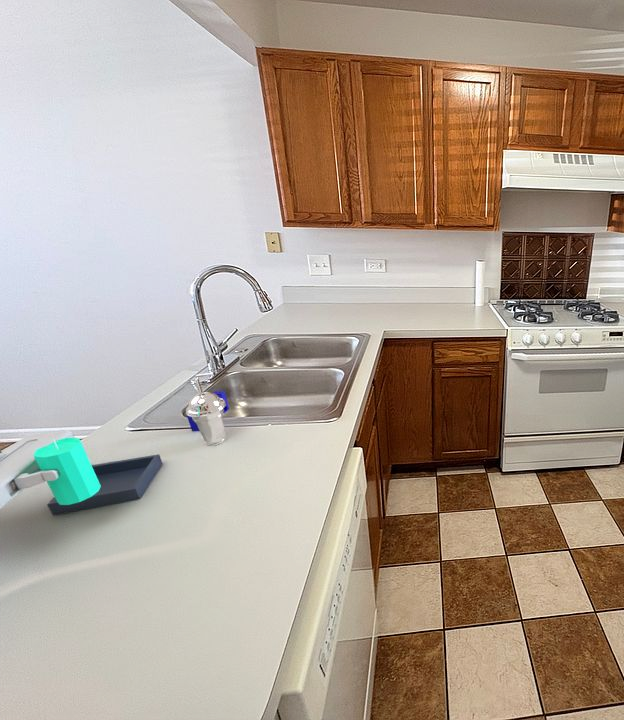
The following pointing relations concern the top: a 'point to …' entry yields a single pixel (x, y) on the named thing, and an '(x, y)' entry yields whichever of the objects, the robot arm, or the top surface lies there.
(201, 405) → the cup with straw
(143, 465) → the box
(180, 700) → the top surface
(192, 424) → the cable clip
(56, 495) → the candle
